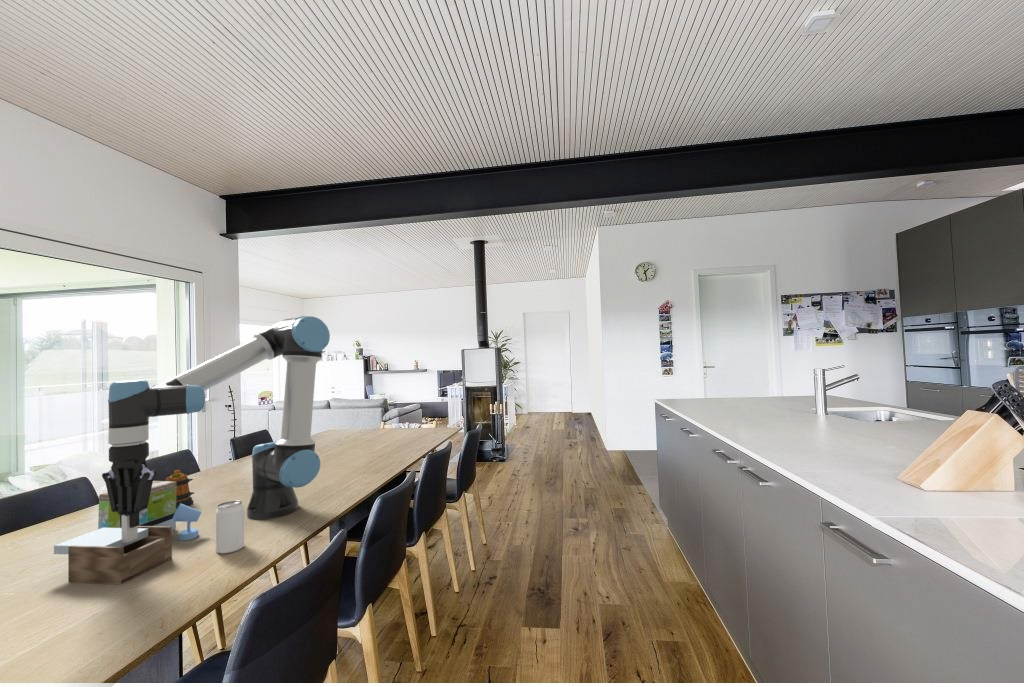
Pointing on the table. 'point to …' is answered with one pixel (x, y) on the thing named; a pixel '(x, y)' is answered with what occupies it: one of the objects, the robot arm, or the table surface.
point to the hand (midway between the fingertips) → (129, 540)
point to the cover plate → (99, 539)
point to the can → (229, 527)
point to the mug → (181, 488)
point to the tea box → (154, 515)
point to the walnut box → (120, 558)
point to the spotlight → (187, 520)
